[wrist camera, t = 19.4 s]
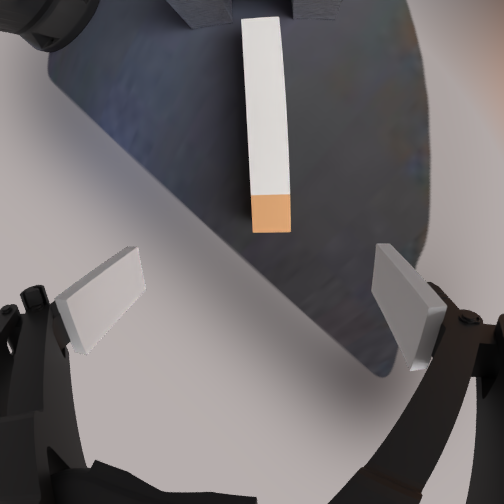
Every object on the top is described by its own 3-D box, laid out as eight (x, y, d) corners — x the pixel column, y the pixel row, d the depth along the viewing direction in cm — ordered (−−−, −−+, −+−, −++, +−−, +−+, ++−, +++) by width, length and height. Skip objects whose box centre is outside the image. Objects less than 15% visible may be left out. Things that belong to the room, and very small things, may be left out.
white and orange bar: (290, 221, 35) (290, 232, 30) (257, 221, 35) (252, 232, 31) (280, 33, 27) (278, 16, 22) (247, 35, 28) (241, 19, 23)
